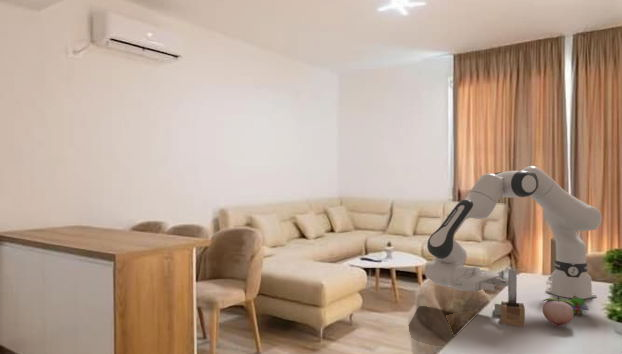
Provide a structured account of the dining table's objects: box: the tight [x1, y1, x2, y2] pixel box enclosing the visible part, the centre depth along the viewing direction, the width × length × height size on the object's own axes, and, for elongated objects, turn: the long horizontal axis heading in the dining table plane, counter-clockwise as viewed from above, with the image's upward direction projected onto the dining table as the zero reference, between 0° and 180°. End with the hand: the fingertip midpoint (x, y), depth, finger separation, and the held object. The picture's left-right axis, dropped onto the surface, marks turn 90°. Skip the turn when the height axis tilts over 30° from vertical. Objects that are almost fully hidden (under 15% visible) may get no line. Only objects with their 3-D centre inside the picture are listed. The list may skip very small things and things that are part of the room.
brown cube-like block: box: [500, 301, 526, 328], centre depth 149 cm, size 7×7×6 cm
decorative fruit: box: [542, 295, 575, 327], centre depth 145 cm, size 9×8×10 cm
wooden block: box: [549, 237, 556, 276], centre depth 213 cm, size 10×10×20 cm
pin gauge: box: [507, 268, 518, 307], centre depth 149 cm, size 3×3×16 cm
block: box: [494, 298, 508, 317], centre depth 159 cm, size 7×7×4 cm
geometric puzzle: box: [568, 296, 589, 318], centre depth 158 cm, size 7×7×8 cm
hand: (501, 285), depth 152 cm, fingers open, 8 cm apart
